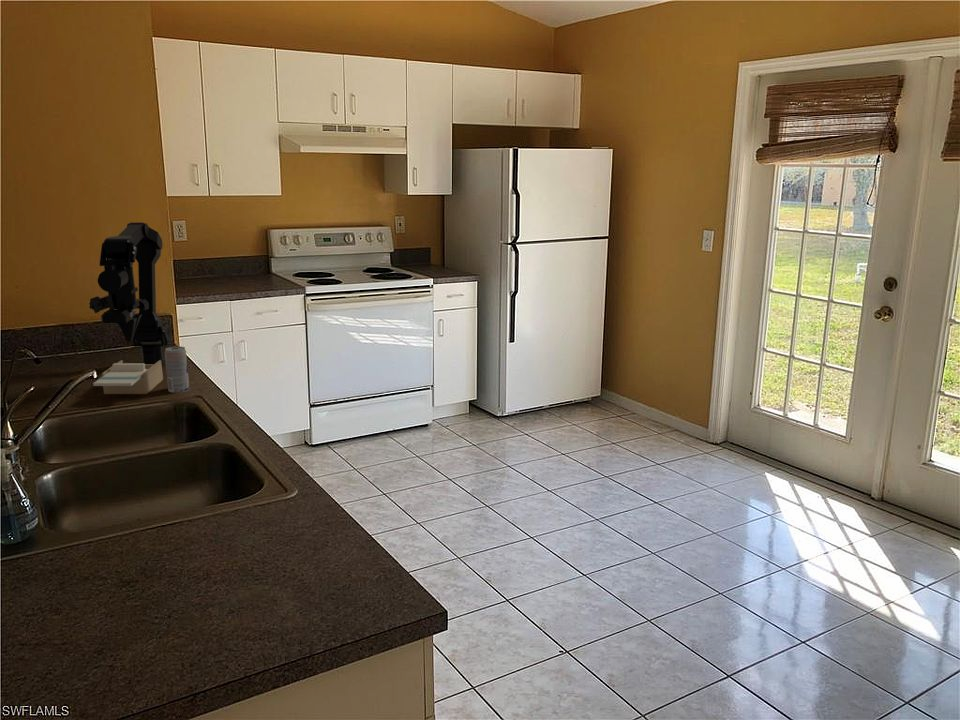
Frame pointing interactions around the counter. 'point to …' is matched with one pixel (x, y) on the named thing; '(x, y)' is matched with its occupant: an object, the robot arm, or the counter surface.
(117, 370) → the lid
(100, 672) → the counter surface
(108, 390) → the mailer box
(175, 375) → the energy drink
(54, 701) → the counter surface
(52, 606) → the counter surface
